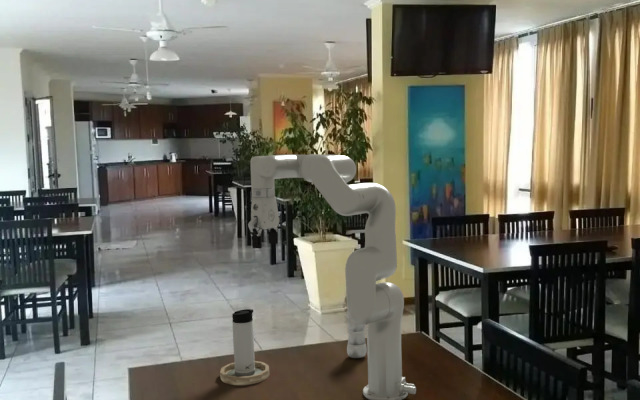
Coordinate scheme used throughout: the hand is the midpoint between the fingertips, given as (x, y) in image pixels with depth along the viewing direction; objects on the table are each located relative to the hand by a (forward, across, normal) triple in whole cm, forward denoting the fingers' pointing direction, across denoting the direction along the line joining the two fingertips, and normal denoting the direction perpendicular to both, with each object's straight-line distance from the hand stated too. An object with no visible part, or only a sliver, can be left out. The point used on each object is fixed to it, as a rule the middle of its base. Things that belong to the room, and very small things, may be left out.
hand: (265, 245), depth 203 cm
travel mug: (+38, -16, -1) cm, 41 cm away
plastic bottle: (+38, +13, -26) cm, 48 cm away
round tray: (+38, -16, -1) cm, 42 cm away
